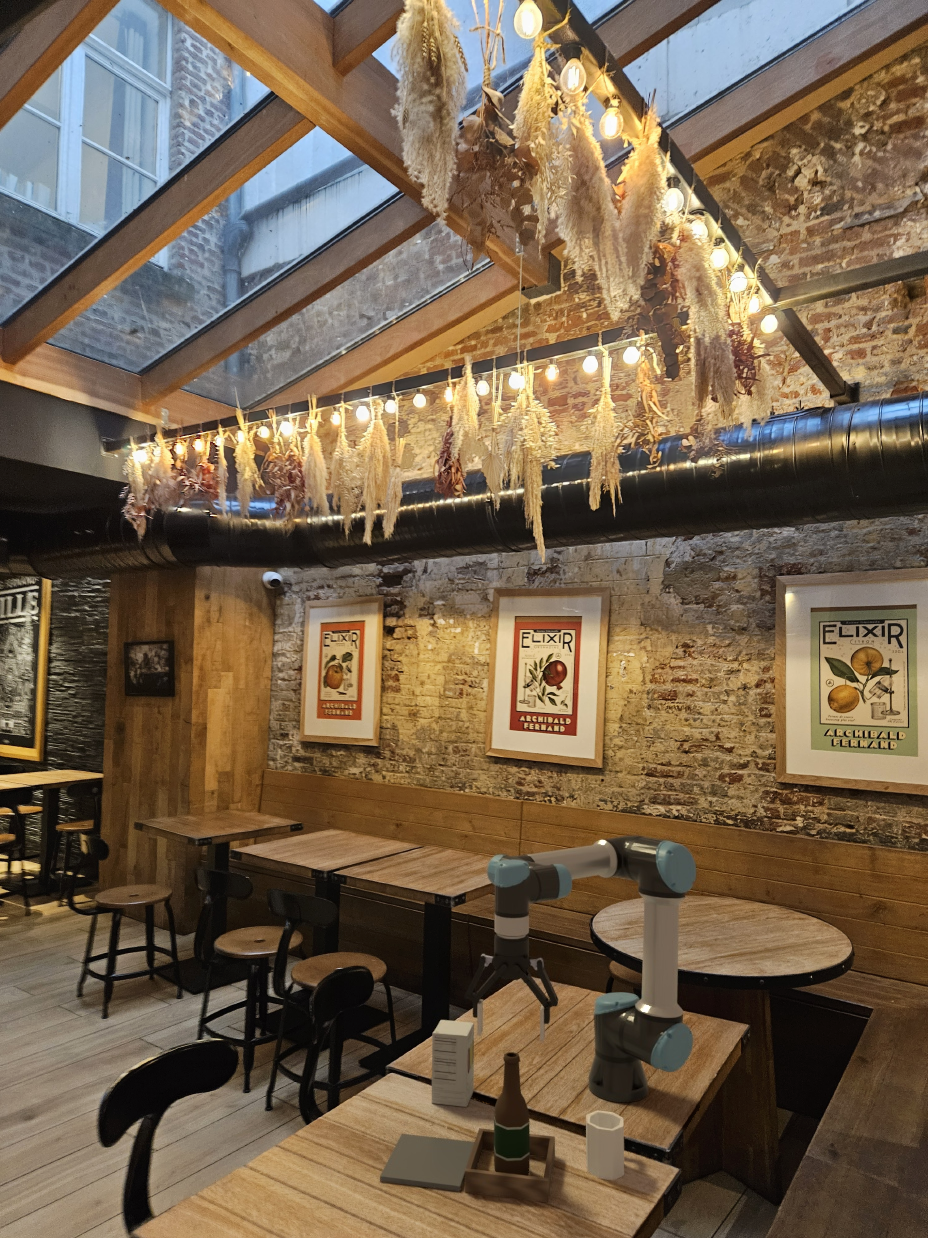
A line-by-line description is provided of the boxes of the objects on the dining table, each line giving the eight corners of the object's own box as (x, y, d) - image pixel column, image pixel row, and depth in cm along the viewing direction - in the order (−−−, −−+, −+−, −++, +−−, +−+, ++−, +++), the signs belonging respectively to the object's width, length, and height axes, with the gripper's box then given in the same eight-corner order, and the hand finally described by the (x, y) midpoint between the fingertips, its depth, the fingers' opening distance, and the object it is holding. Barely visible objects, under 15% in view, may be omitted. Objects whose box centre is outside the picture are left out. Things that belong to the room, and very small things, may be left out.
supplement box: (467, 1108, 198) (467, 1036, 200) (430, 1104, 200) (431, 1033, 202) (474, 1090, 207) (474, 1021, 209) (439, 1086, 209) (440, 1018, 211)
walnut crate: (554, 1156, 177) (554, 1136, 178) (548, 1202, 161) (548, 1181, 161) (479, 1147, 181) (479, 1128, 181) (464, 1192, 164) (464, 1171, 164)
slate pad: (474, 1146, 181) (474, 1142, 181) (459, 1191, 164) (459, 1186, 164) (401, 1138, 184) (401, 1133, 184) (379, 1181, 167) (380, 1176, 167)
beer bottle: (505, 1188, 165) (505, 1065, 168) (486, 1169, 172) (487, 1051, 175) (537, 1178, 169) (536, 1058, 171) (517, 1159, 176) (517, 1044, 178)
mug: (617, 1185, 167) (616, 1134, 168) (578, 1171, 171) (578, 1123, 172) (637, 1157, 177) (636, 1110, 178) (600, 1146, 182) (600, 1100, 183)
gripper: (570, 933, 177) (570, 1034, 175) (459, 925, 182) (457, 1024, 179) (567, 943, 170) (568, 1048, 167) (452, 935, 174) (450, 1037, 172)
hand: (510, 1036), depth 173 cm, fingers open, 13 cm apart
